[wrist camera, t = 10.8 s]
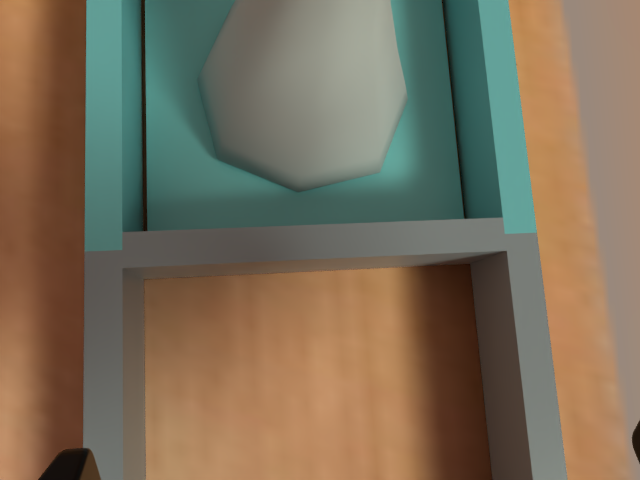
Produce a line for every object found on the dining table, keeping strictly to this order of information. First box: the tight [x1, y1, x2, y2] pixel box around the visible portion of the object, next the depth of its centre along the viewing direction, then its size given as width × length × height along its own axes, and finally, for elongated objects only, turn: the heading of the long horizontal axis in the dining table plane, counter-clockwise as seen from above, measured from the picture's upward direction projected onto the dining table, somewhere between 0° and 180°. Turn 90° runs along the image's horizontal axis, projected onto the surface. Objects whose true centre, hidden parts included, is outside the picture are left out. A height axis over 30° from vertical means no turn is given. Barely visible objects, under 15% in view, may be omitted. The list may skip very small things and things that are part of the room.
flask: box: [197, 0, 408, 192], centre depth 15 cm, size 7×7×10 cm
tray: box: [83, 0, 567, 480], centre depth 18 cm, size 25×13×3 cm, turn 3°
